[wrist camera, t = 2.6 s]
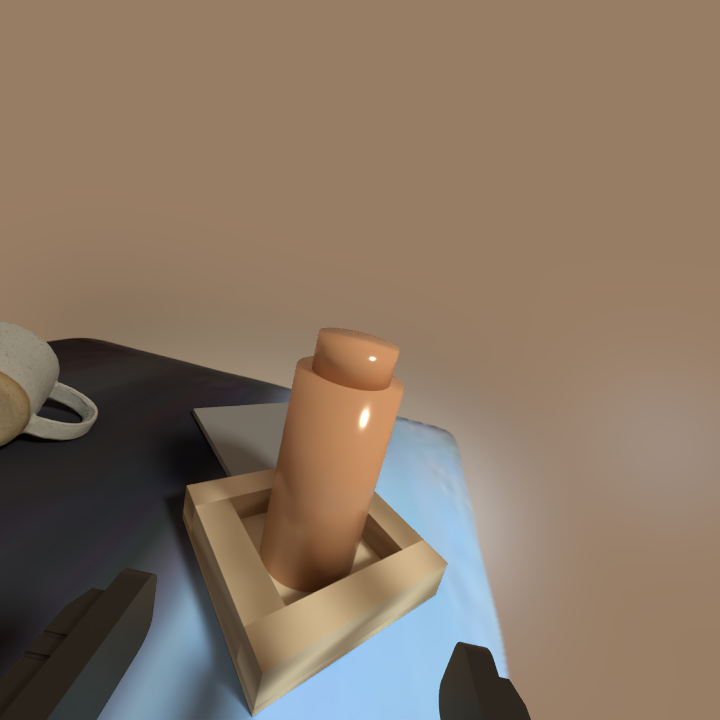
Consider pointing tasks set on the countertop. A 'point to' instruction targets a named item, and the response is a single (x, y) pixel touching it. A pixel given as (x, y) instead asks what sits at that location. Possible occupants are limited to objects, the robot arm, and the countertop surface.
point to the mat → (244, 435)
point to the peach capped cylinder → (330, 458)
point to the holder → (291, 607)
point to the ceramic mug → (35, 389)
